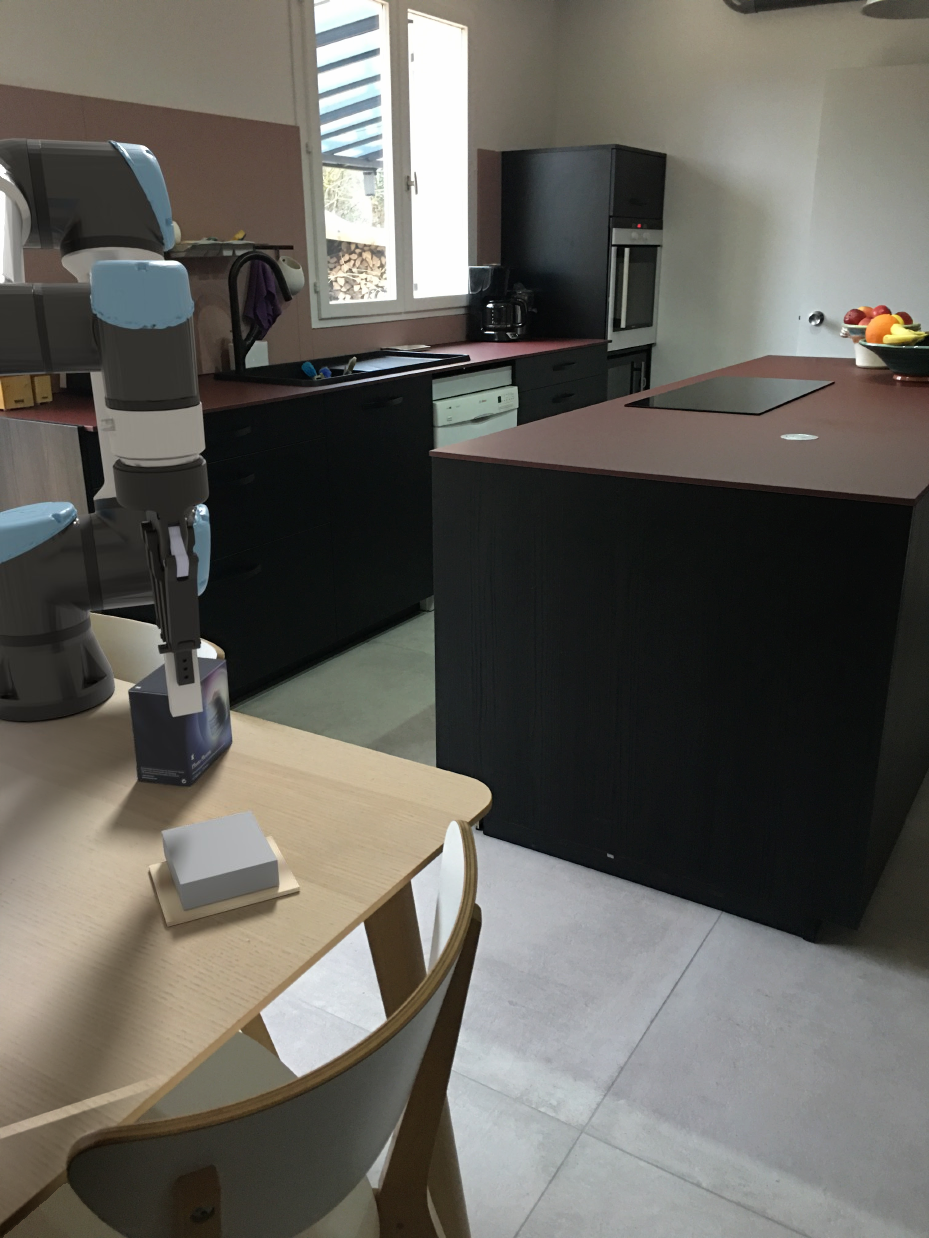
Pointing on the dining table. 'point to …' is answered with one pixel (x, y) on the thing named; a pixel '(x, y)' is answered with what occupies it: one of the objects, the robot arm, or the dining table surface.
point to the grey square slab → (219, 859)
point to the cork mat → (178, 915)
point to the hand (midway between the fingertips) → (186, 710)
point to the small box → (180, 727)
